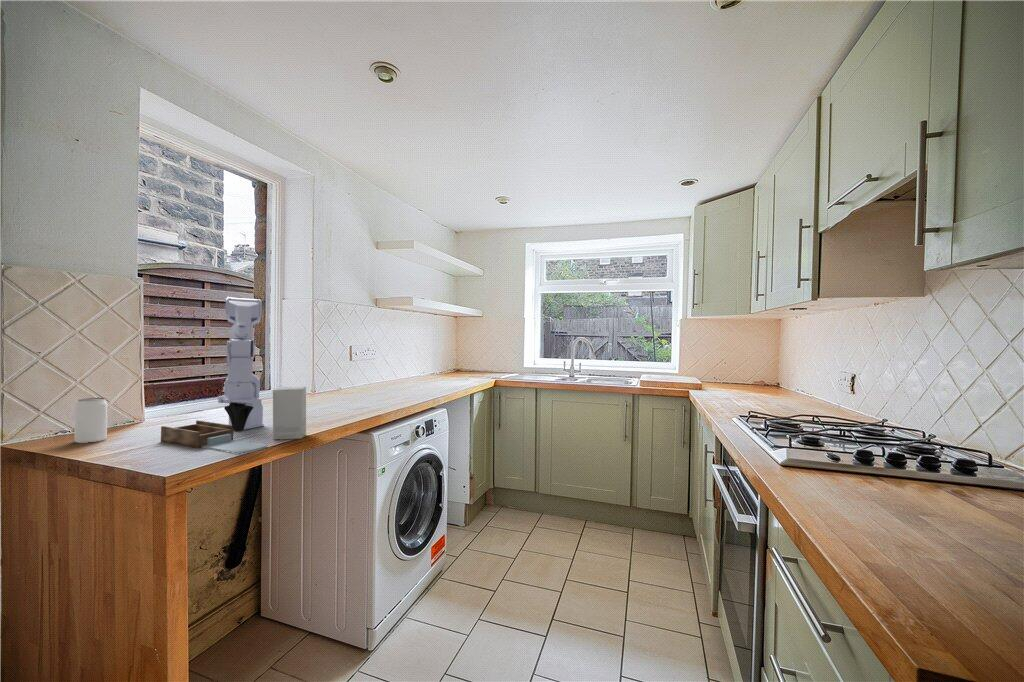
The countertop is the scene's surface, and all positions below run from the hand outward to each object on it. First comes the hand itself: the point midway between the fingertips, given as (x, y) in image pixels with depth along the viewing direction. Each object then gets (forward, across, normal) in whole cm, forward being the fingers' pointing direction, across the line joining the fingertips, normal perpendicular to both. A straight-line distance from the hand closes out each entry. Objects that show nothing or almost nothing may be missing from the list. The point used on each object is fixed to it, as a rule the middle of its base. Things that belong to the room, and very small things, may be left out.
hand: (238, 430), depth 115 cm
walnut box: (+5, -17, 0) cm, 18 cm away
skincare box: (+5, +2, +15) cm, 16 cm away
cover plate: (+6, -1, 0) cm, 6 cm away
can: (+5, -42, -13) cm, 44 cm away
